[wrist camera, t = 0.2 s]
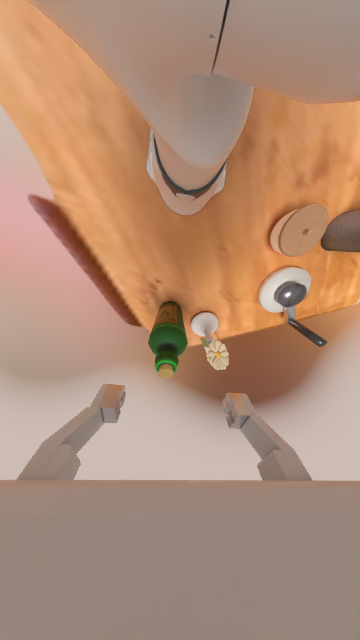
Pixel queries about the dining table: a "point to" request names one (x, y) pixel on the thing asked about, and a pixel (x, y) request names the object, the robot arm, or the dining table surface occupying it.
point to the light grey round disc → (278, 279)
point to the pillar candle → (343, 233)
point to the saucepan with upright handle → (288, 299)
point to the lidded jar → (299, 230)
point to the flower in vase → (210, 339)
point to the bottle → (168, 339)
